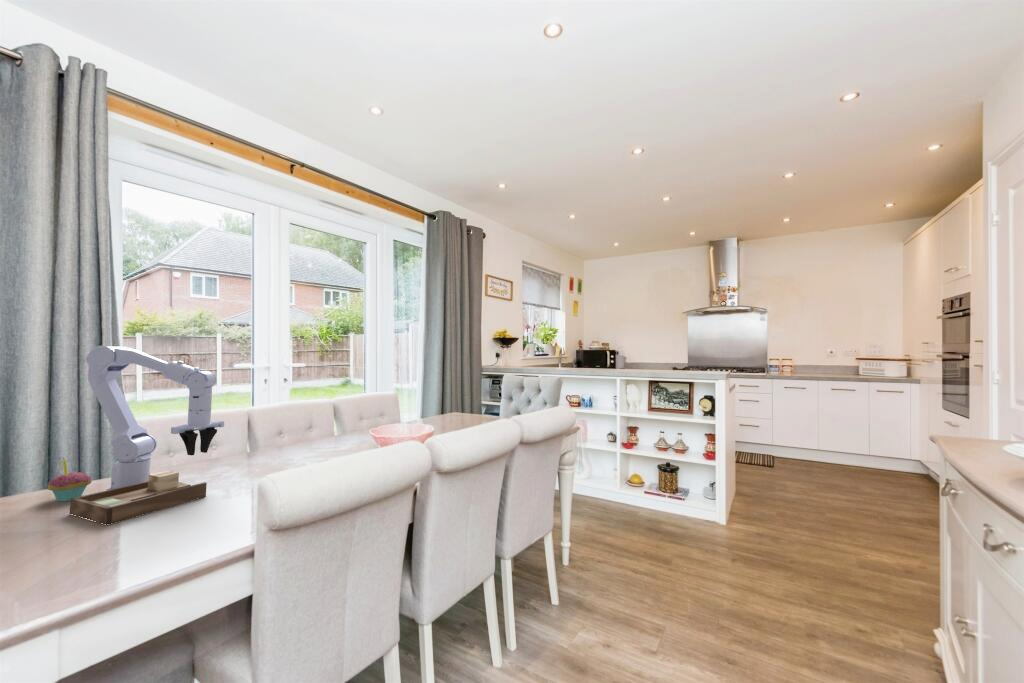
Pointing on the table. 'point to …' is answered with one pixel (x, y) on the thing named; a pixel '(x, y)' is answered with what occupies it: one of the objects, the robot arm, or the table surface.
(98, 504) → the trap track
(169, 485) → the birch block
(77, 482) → the cupcake
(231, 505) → the table surface
